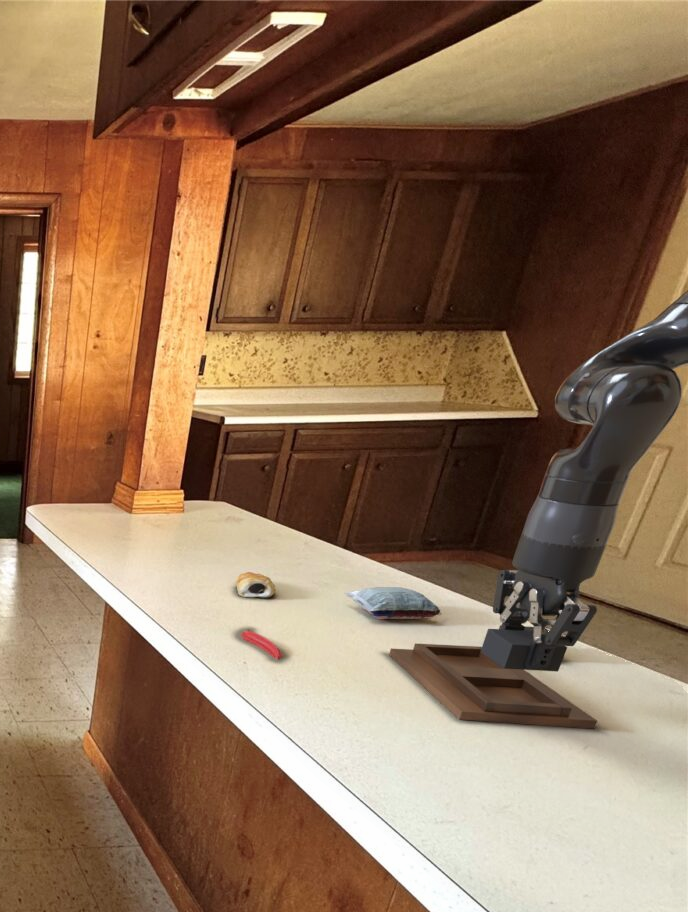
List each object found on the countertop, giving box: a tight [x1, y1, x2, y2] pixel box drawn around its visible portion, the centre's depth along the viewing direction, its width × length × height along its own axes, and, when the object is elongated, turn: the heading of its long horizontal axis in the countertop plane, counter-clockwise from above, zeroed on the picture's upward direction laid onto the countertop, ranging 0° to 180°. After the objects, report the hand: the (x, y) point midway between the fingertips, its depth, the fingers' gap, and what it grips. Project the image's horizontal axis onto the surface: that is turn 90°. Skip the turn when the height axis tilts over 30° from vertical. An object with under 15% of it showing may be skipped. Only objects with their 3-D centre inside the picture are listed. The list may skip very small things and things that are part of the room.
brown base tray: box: [388, 643, 598, 730], centre depth 94 cm, size 15×19×2 cm
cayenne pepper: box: [240, 629, 283, 661], centre depth 109 cm, size 12×5×2 cm, turn 167°
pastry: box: [235, 571, 276, 598], centre depth 130 cm, size 9×7×4 cm
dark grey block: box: [481, 628, 568, 672], centre depth 87 cm, size 6×5×4 cm
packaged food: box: [344, 586, 442, 620], centre depth 117 cm, size 9×12×5 cm
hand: (518, 658), depth 87 cm, fingers closed on dark grey block, 5 cm apart
